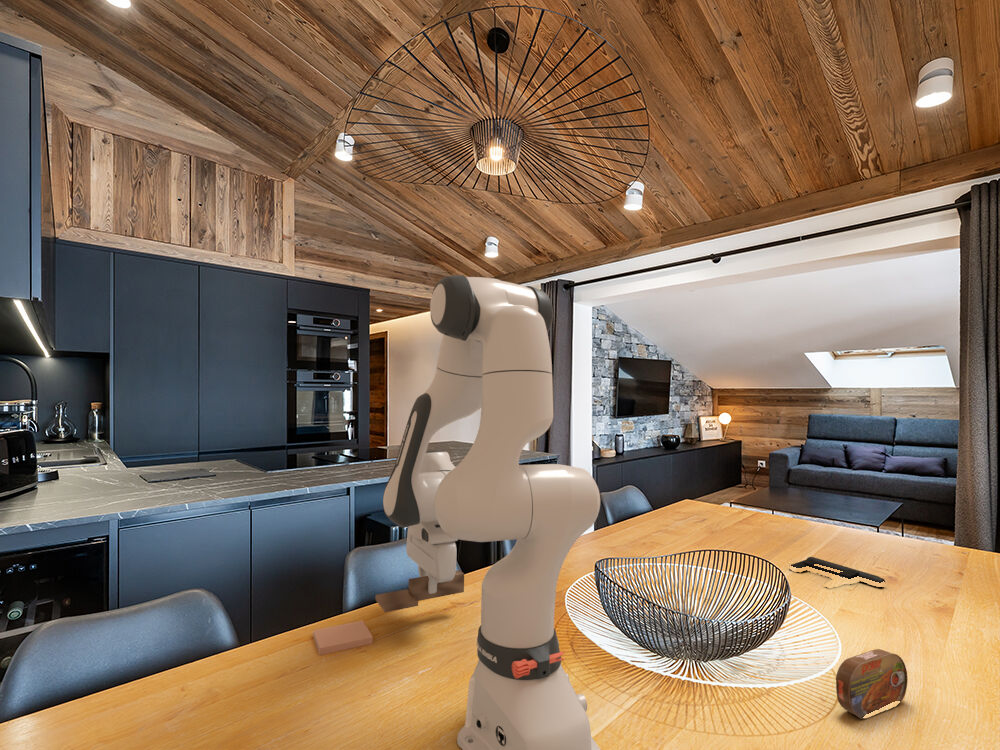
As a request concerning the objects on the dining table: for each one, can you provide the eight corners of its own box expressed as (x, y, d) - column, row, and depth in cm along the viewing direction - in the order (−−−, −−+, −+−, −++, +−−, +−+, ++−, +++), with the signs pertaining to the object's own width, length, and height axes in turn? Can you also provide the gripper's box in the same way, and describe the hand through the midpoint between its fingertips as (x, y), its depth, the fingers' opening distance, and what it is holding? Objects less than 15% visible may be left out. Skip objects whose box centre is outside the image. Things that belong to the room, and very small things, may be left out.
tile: (372, 637, 100) (319, 648, 95) (372, 645, 100) (319, 657, 95) (363, 620, 107) (313, 630, 102) (362, 628, 107) (312, 638, 102)
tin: (851, 725, 78) (851, 669, 78) (831, 713, 81) (831, 659, 81) (910, 702, 84) (909, 651, 84) (889, 692, 87) (888, 642, 87)
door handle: (854, 589, 127) (888, 575, 135) (778, 564, 145) (812, 553, 152) (854, 602, 127) (888, 588, 134) (778, 576, 145) (812, 564, 152)
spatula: (455, 584, 117) (455, 567, 117) (468, 595, 111) (468, 577, 111) (375, 599, 108) (375, 580, 108) (384, 612, 102) (385, 592, 102)
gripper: (400, 515, 118) (398, 575, 117) (433, 538, 100) (431, 609, 99) (425, 512, 121) (424, 571, 120) (462, 534, 103) (461, 603, 103)
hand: (428, 589), depth 110 cm, fingers closed on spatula, 2 cm apart
